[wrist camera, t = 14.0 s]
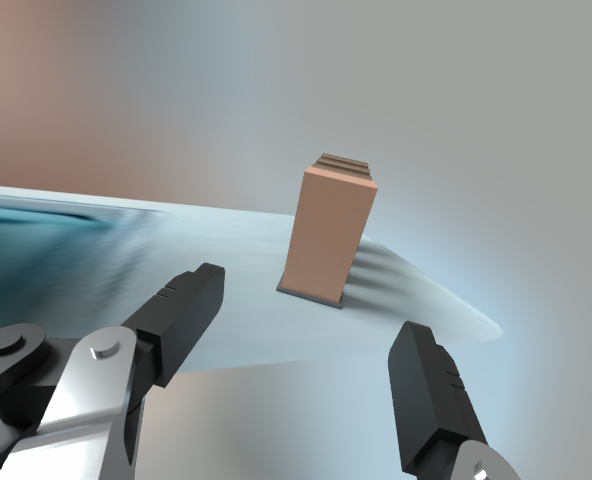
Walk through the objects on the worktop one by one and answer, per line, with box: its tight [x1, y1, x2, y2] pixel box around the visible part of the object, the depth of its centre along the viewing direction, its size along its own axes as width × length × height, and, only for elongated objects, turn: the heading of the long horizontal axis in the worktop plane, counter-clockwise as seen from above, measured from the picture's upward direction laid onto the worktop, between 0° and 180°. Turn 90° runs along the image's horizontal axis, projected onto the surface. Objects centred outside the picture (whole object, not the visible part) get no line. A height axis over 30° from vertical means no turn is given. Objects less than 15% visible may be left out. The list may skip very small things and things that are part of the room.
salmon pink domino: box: [281, 167, 378, 303], centre depth 20 cm, size 2×5×10 cm, turn 79°
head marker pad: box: [276, 273, 342, 309], centre depth 23 cm, size 3×6×1 cm, turn 78°
